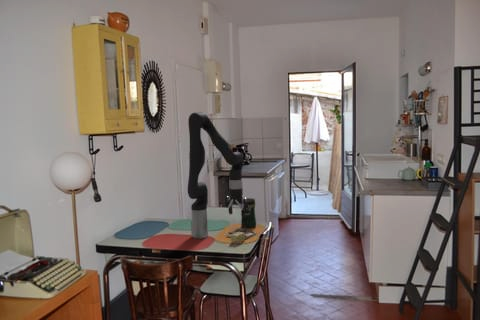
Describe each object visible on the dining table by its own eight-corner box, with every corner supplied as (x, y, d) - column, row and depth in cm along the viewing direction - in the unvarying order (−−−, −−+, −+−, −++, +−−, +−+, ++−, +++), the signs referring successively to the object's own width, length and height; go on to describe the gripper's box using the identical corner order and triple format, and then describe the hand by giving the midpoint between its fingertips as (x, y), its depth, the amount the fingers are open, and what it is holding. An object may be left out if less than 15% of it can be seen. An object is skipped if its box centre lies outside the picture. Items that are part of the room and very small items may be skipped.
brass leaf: (231, 243, 230) (230, 234, 229) (238, 239, 235) (238, 231, 235) (237, 244, 227) (237, 236, 226) (244, 241, 233) (244, 232, 232)
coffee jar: (257, 224, 264) (256, 197, 262) (254, 228, 256) (253, 200, 254) (243, 224, 267) (242, 196, 264) (240, 227, 259) (238, 199, 257)
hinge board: (226, 236, 241) (226, 230, 241) (239, 230, 252) (239, 225, 251) (244, 240, 234) (244, 234, 233) (256, 234, 244) (256, 228, 244)
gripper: (221, 187, 228) (223, 215, 230) (242, 189, 220) (243, 218, 222) (229, 185, 234) (230, 212, 236) (249, 187, 226) (250, 215, 228)
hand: (236, 215), depth 229 cm, fingers open, 8 cm apart
